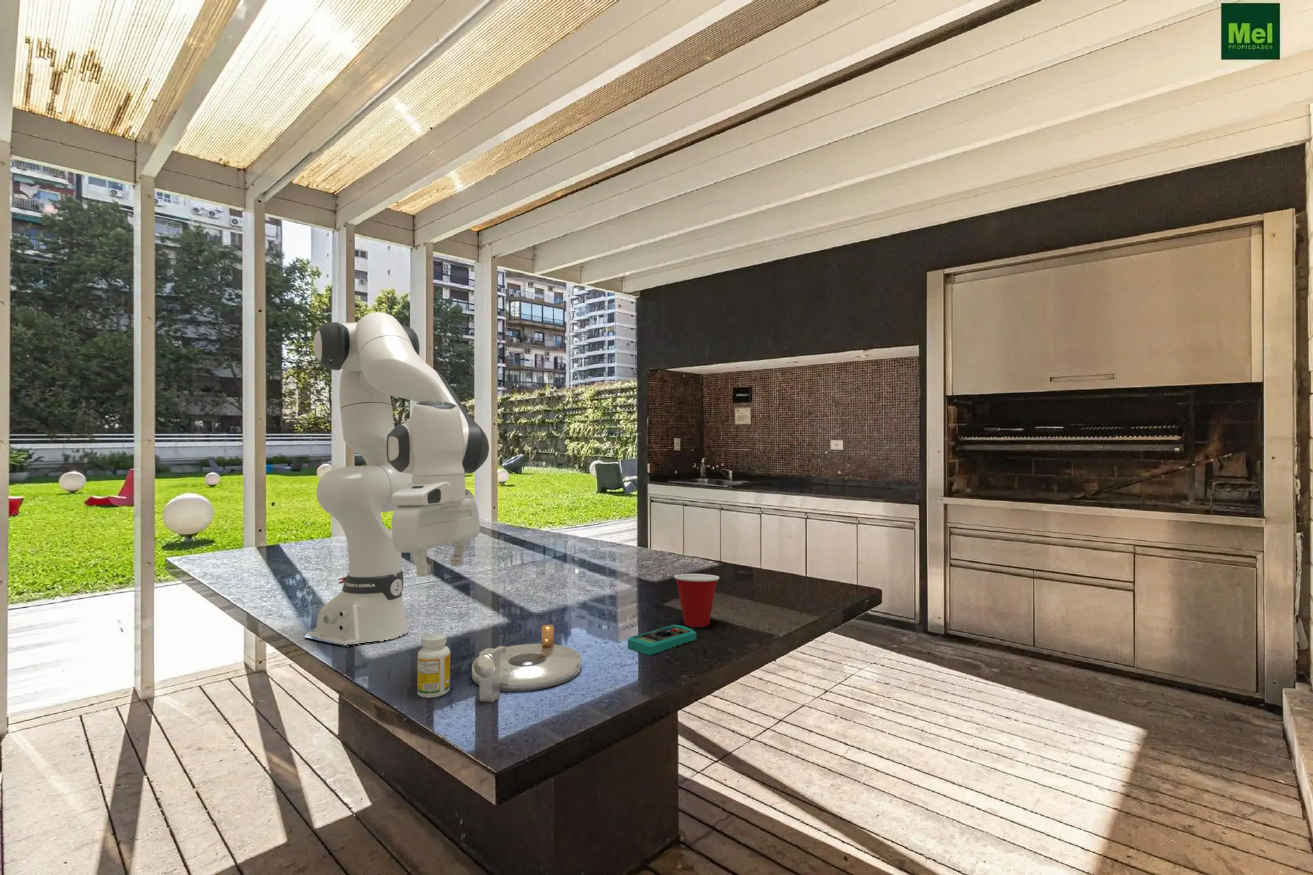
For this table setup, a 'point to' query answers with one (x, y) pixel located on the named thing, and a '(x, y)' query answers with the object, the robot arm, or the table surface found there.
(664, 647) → the digital multimeter
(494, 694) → the stand
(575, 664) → the turntable
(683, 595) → the plastic cup
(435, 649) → the supplement bottle
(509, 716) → the table surface
